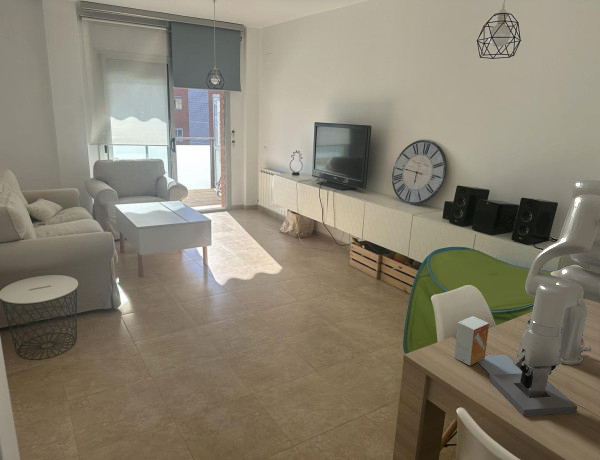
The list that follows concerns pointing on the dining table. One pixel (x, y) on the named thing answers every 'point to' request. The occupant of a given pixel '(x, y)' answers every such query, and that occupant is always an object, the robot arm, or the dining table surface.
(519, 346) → the robot arm
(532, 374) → the steel plug
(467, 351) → the small box
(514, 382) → the socket block
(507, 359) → the blue pad
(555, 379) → the dining table surface
